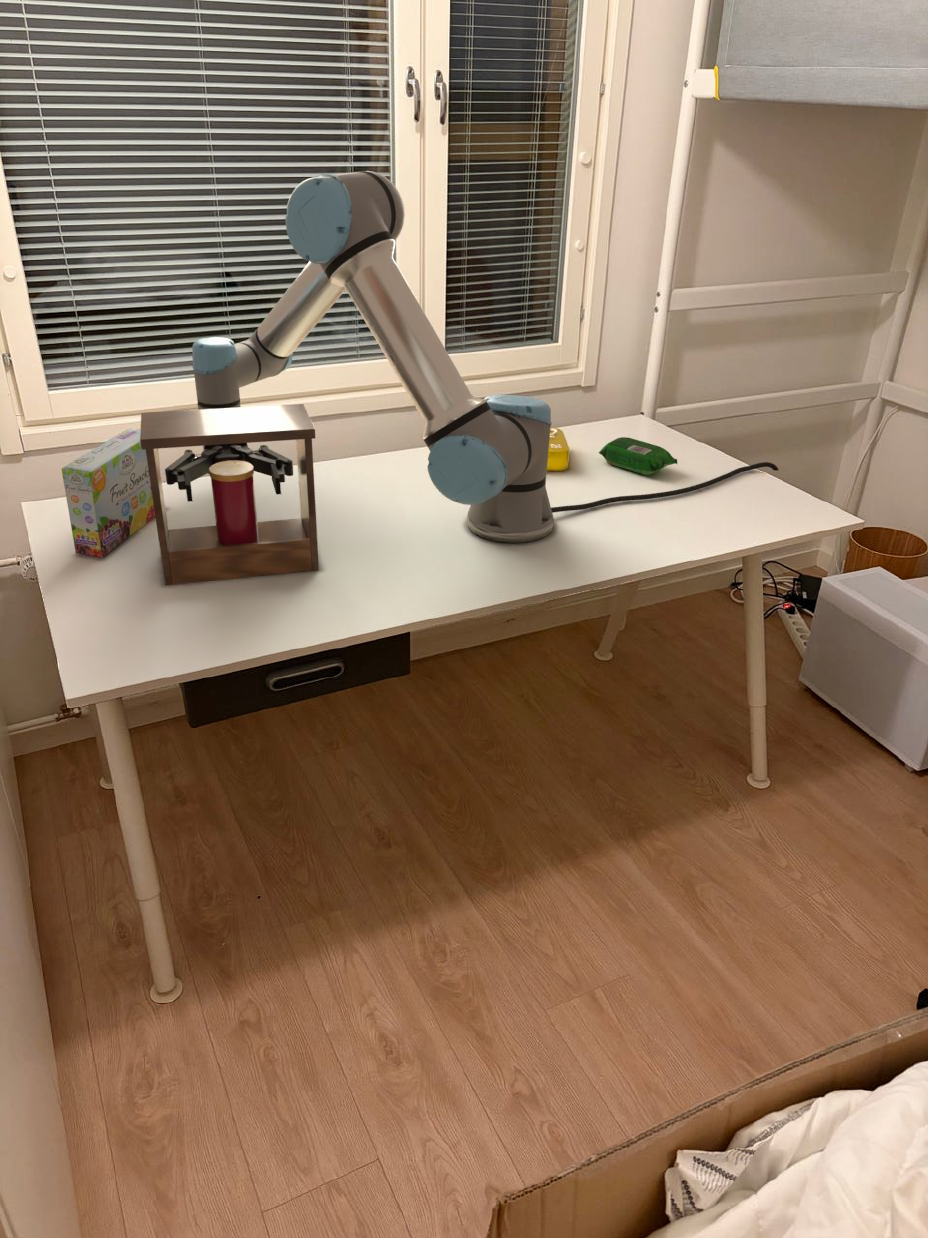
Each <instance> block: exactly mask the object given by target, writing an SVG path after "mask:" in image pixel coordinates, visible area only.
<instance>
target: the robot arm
mask: <svg viewBox="0 0 928 1238" xmlns="http://www.w3.org/2000/svg"><path fill="white" fill-rule="evenodd" d="M405 212H406V211H405V204H404V201H403V197H402V195H401V193H400V191H399V190H398V188H397V187H396V185H395V184H394V182H392V181H391V180H390V179H388V177H386V176H384V175H383V174H380V173H378V172H376V171H370V170H359V171H358V170H357V171H353V172H346V173H345V172H343V173H335V174H331V173H322V174H321V173H320V175H316V176H313V177H309V178H307V179H305V180H303V181H301V182H300V183H299V184H298V185H297V186H296V187H295V188H294V189H293V191H292V192H291V194H290V196H289V199H288V201H287V205H286V215H285V229H286V233H287V238H288V240H289V243H290V245H291V246H292V249H293V250H294V252H295V253H296V254H297V255H298V256H299V257H300V258H301V259H303V260H305V261H308V263H307V264H306V265H305V266H304V268H303V269H302V270H301V272H300V273H299V274H298V276H297V277H296V278H295V279H294V281H293V282H292V284H291V285H290V286H289V287H288V288H287V290H286V291H285V292H284V293H283V295H282V296H281V297H280V299H279V300H278V301H277V302H276V304H275V305H274V306H273V308H272V309H271V310H270V311H269V313H268V314H267V316H266V317H264V319H263V320H262V322H261V323H260V324H259V326H258V327H257V328H256V329H255V330H254V332H253V333H252V334H251V335H250V337H249V338H248V339H246V340H243V341H240V342H237V343H235V342H234V340H232V339H231V338H229V337H224V336H223V337H222V336H210V337H203V338H199V339H197V340H195V341H194V342H193V343H192V346H191V350H192V364H191V365H192V370H193V375H194V384H195V392H196V400H197V410H202V409H221V408H239V407H241V395H240V388H243V387H245V386H248V385H252V384H254V383H256V382H259V381H263V380H265V379H268V378H272V377H273V378H274V377H276V376H278V375H280V374H281V373H282V372H285V371H287V369H289V368H290V366H291V365H292V362H293V357H294V352H295V350H296V349H297V348H298V347H299V346H300V345H301V343H302V342H303V341H304V340H305V338H307V336H308V335H309V334H310V333H311V332H312V330H313V329H314V328H315V327H316V326H317V324H318V323H319V322H320V321H321V320H322V319H323V317H324V316H325V315H326V314H327V313H328V311H329V310H330V309H331V308H332V307H333V305H334V304H335V303H336V302H337V301H338V299H339V298H340V297H342V295H343V294H344V293H345V291H347V294H349V297H350V299H351V300H352V303H354V306H355V308H357V311H358V312H359V314H360V315H361V318H362V319H363V320H364V322H365V324H366V326H367V327H368V330H370V331H369V332H370V333H371V334H372V336H373V338H374V339H375V341H376V343H377V344H378V346H379V348H380V349H381V351H382V353H383V355H384V356H385V358H386V359H387V361H388V363H389V365H390V367H391V368H392V370H393V371H394V373H395V375H396V377H397V378H398V380H399V381H400V383H401V385H402V387H403V389H404V390H405V392H406V394H407V395H408V397H409V399H410V400H411V402H412V404H413V406H414V407H415V409H416V410H417V413H418V414H419V415H420V417H421V419H422V421H423V422H424V430H423V434H422V440H423V442H424V443H425V445H426V446H427V448H428V450H429V453H428V457H427V461H428V464H427V471H428V477H429V478H430V481H431V482H432V484H433V486H434V487H435V489H437V491H438V492H439V493H440V494H441V495H443V497H444V498H446V499H449V501H452V502H454V503H458V504H461V505H464V506H469V508H468V511H467V527H468V528H469V530H470V531H471V532H472V533H473V534H475V535H477V536H479V537H482V538H484V539H487V540H491V541H494V542H500V543H514V544H515V543H527V542H533V541H537V540H540V539H542V538H545V537H547V536H549V534H550V533H551V532H552V531H553V529H554V527H553V526H554V514H553V513H561V512H571V511H582V510H588V509H592V508H596V507H600V506H603V505H608V504H613V503H619V502H620V503H621V502H627V501H628V502H630V501H643V500H644V501H645V500H652V499H653V500H654V499H659V498H666V497H672V496H677V495H683V494H687V493H691V492H694V491H697V490H701V489H705V488H707V487H710V486H712V485H714V484H718V483H719V482H722V481H724V480H727V479H730V478H731V477H734V476H736V475H739V474H741V473H745V472H749V471H753V470H756V469H759V468H770V469H772V470H773V471H777V472H779V470H780V469H779V468H778V466H777V465H776V464H775V463H772V462H770V461H764V462H763V461H762V462H758V463H754V464H750V465H745V466H742V467H738V468H736V469H733V470H731V471H729V472H727V473H725V474H722V475H719V476H717V477H714V478H712V479H710V480H707V481H704V482H700V483H698V484H695V485H691V486H687V487H684V488H679V489H673V490H668V491H661V492H653V493H646V494H633V495H620V496H613V497H608V498H603V499H599V500H595V501H592V502H588V503H587V502H586V503H581V504H572V505H562V506H561V505H560V506H554V507H553V506H552V507H551V503H550V499H549V495H548V491H547V462H548V450H549V438H550V428H551V427H552V423H553V422H552V421H551V420H552V415H551V414H552V410H551V407H550V405H549V404H548V403H547V402H545V401H544V400H541V399H538V398H534V397H531V396H523V395H516V394H492V395H488V396H485V397H484V398H480V397H477V396H474V395H473V394H472V393H471V392H470V391H471V390H469V388H468V386H467V384H466V383H465V381H464V379H463V378H462V376H461V374H460V372H459V370H458V369H457V367H456V365H455V363H454V361H453V360H452V358H451V356H450V355H449V353H448V351H447V350H446V348H445V346H444V345H443V343H442V341H441V339H440V337H439V336H438V334H437V332H436V331H435V329H434V327H433V325H432V324H431V322H430V320H429V318H428V316H427V315H426V313H425V311H424V310H423V308H422V306H421V304H420V303H419V301H418V299H417V297H416V296H415V293H414V292H413V291H412V289H411V286H410V285H409V284H408V282H407V280H406V279H405V277H404V275H403V273H402V271H401V270H400V267H399V266H398V265H397V263H396V261H395V260H394V253H395V247H396V241H397V239H398V238H399V236H400V235H401V232H402V230H403V227H404V225H405V216H406V215H405ZM231 460H237V461H245V462H248V463H250V464H252V465H253V469H254V472H257V473H260V474H263V475H266V476H269V477H271V483H272V486H273V488H274V491H275V494H276V495H282V488H281V483H285V482H286V476H287V477H292V476H293V475H294V463H293V460H292V459H291V458H289V457H287V456H285V455H283V454H280V453H278V452H276V451H274V450H273V449H271V448H269V446H268V445H266V444H261V445H260V446H259V448H258V449H255V450H253V449H252V448H250V447H249V446H248V443H237V444H221V445H206V446H202V451H201V453H195V452H194V451H193V450H192V449H186V450H184V453H183V455H181V456H180V457H179V458H177V459H176V460H175V461H174V462H172V463H170V465H168V466H167V467H166V468H164V474H165V480H166V484H167V485H168V486H172V485H175V484H176V483H177V488H178V490H179V491H185V492H186V500H187V503H190V502H193V491H192V482H194V481H196V480H197V479H199V478H202V477H203V476H205V475H209V468H210V466H212V465H213V464H215V463H218V462H223V461H231Z"/></svg>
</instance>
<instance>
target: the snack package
mask: <svg viewBox="0 0 928 1238" xmlns="http://www.w3.org/2000/svg"><path fill="white" fill-rule="evenodd" d="M598 454H600V455H601V456H602V457H603V458H604V460H605V461H606V462H607V463H608V465H609V464H610V465H612V466H615V467H618V468H622V469H625V470H628V471H631V472H634V473H638V474H642V475H645V476H651V475H653V474H655V473H657V472H659V471H660V470H662V469H664V468H666V467H667V466H671V465H678V458H675V457H673V456H672V454H671V453H670V452H669V451H668V450H667V449H665V448H664V447H662V446H659V445H656V444H652V443H650V442H647V441H644V440H643V441H642V440H639V439H635V438H633V437H632V438H631V437H626V436H621V437H618V438H615V439H613V440H611V441H610V442H608V443H606V444H605V445H604V446H603V447H602V448H601V450H599V452H598Z"/></svg>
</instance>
